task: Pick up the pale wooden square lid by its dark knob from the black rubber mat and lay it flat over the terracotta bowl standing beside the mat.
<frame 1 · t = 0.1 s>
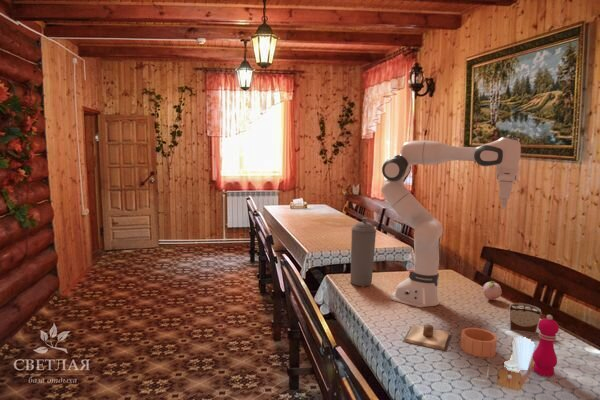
hand: (503, 207, 197), 48 cm above the table, tool pointing down, fingers open, 8 cm apart
pepper mill: (543, 372, 153), on the table
mat: (427, 339, 175), on the table
canister: (360, 283, 239), on the table
lid: (427, 338, 175), resting on mat
decorative fruit: (491, 300, 220), on the table
bowl: (477, 350, 167), on the table
food container: (521, 329, 188), on the table
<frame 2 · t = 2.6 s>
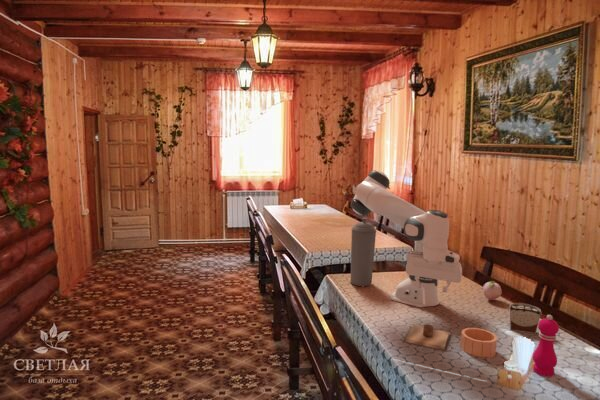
hand: (432, 289, 173), 20 cm above the table, tool pointing down, fingers open, 8 cm apart
nothing on the table moved.
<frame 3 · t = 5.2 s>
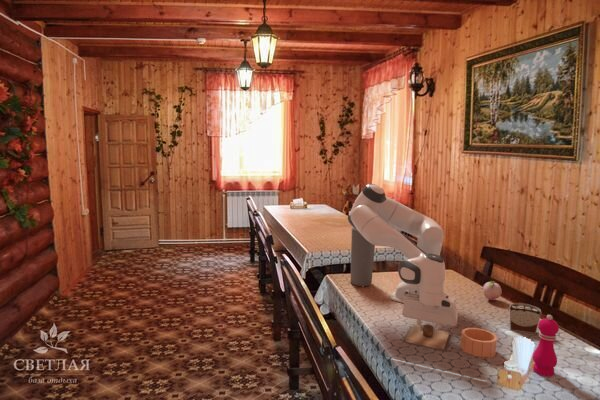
hand: (428, 331, 174), 3 cm above the table, tool pointing down, fingers closed on lid, 4 cm apart
lid: (427, 338, 175), resting on mat, touching gripper
everything else where it was.
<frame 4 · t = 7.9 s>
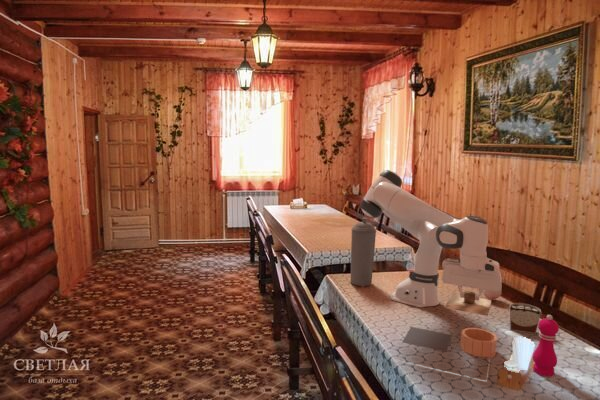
hand: (469, 298, 166), 19 cm above the table, tool pointing down, fingers closed on lid, 4 cm apart
lid: (468, 305, 166), point 17 cm above the table, touching gripper
everything else where it was.
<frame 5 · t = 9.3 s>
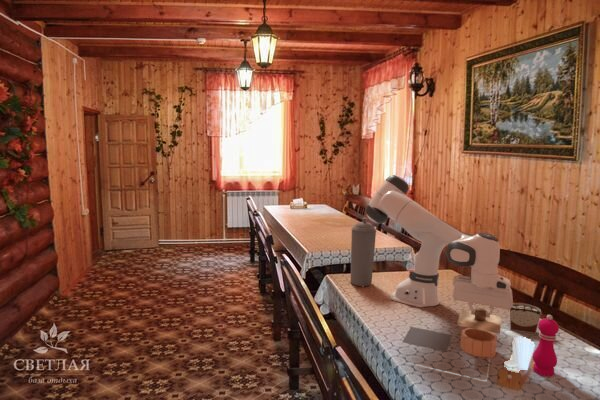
hand: (480, 315, 165), 13 cm above the table, tool pointing down, fingers closed on lid, 4 cm apart
lid: (479, 322, 166), point 11 cm above the table, touching gripper
everything else where it was.
when the fingers open (10 cm above the table, at t = 10.6 s): lid drops 1 cm, resting on bowl.
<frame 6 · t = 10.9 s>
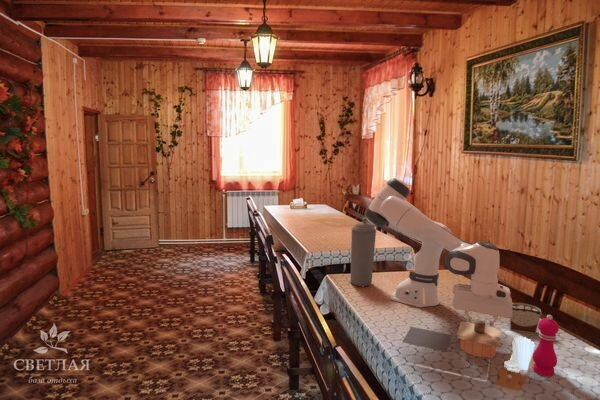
hand: (480, 324, 166), 10 cm above the table, tool pointing down, fingers open, 6 cm apart
lid: (479, 334, 166), point 6 cm above the table, touching bowl
everything else where it was.
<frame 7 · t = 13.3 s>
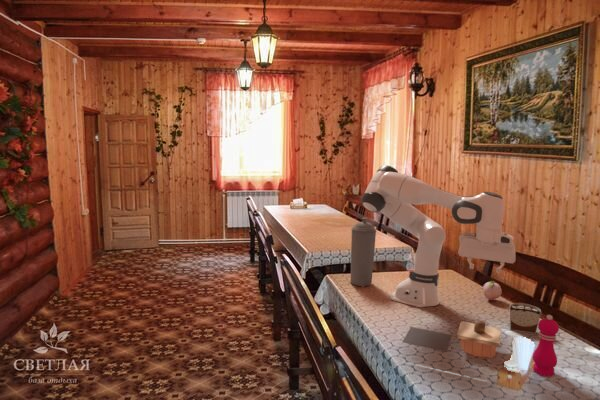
hand: (484, 270, 174), 27 cm above the table, tool pointing down, fingers open, 8 cm apart
nothing on the table moved.
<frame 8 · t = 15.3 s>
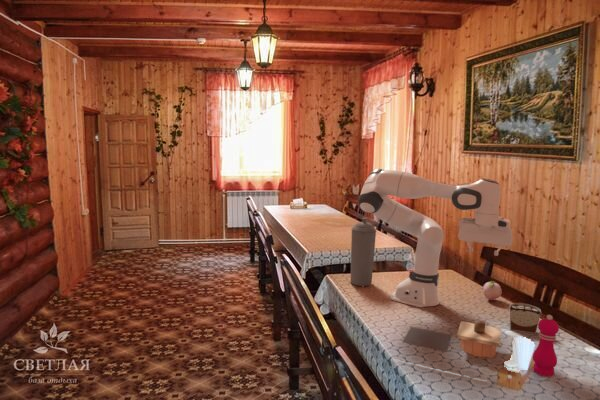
hand: (483, 253, 183), 31 cm above the table, tool pointing down, fingers open, 8 cm apart
nothing on the table moved.
at the end: lid 0.1 cm off-centre on the bowl, point 6.0 cm above the bowl's base; lid tilted 0°; the gripper is holding nothing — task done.
